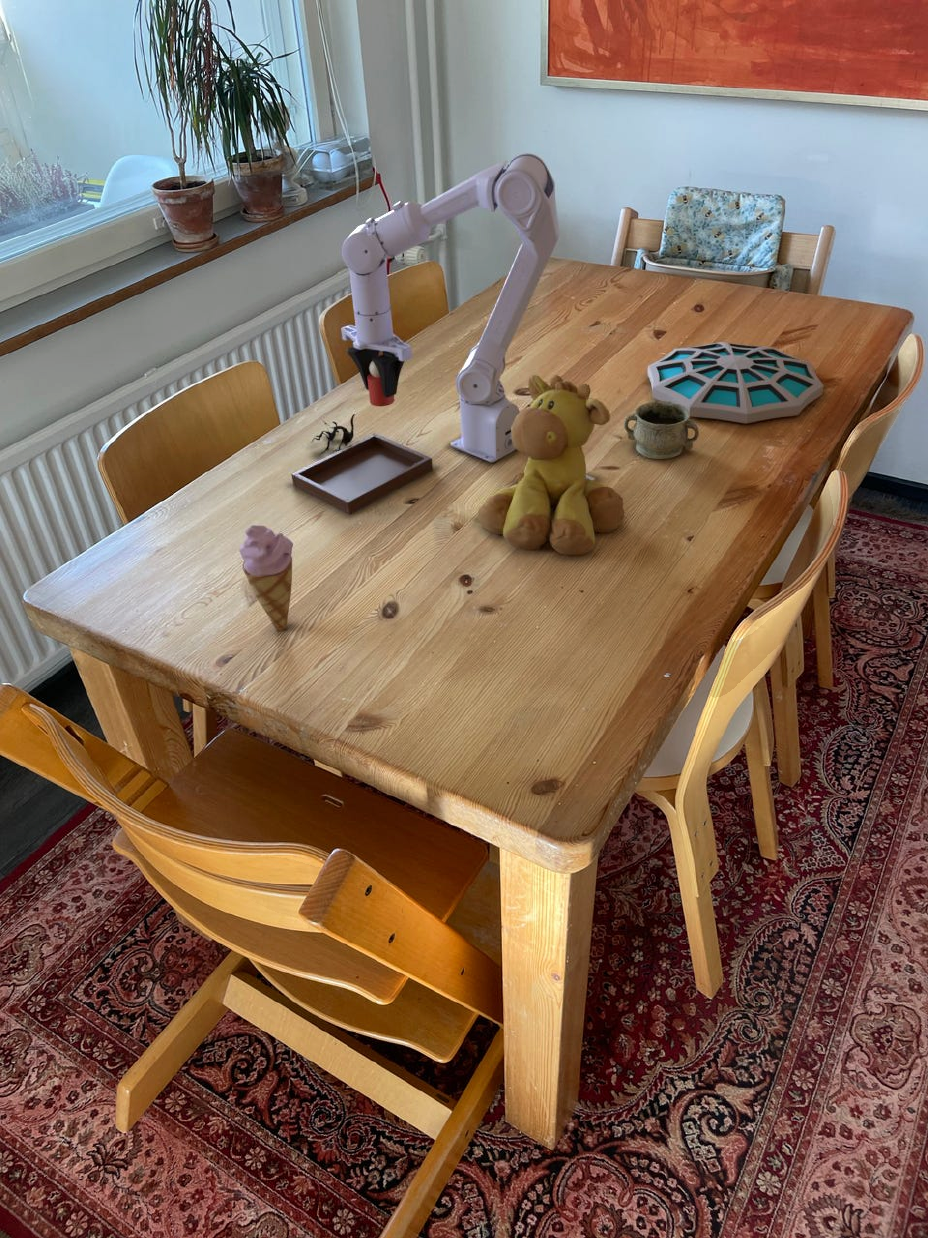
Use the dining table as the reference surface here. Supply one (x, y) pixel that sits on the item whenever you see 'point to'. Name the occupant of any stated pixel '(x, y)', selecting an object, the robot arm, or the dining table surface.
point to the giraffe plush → (554, 474)
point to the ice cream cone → (269, 571)
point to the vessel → (661, 429)
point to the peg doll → (377, 388)
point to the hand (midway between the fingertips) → (381, 391)
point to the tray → (362, 473)
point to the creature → (346, 435)
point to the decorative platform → (735, 382)
